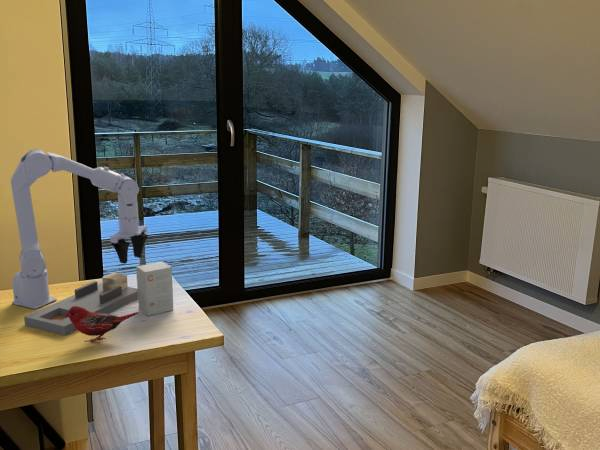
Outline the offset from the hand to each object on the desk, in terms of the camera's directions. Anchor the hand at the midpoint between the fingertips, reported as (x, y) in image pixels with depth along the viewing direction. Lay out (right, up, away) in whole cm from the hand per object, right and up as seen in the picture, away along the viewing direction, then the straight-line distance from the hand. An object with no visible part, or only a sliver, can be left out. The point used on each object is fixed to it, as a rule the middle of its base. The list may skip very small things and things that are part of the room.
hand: (130, 259), depth 180 cm
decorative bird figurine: (+3, -18, -33) cm, 38 cm away
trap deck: (-8, -13, -15) cm, 22 cm away
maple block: (-3, -8, -5) cm, 10 cm away
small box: (+11, -14, -14) cm, 22 cm away
